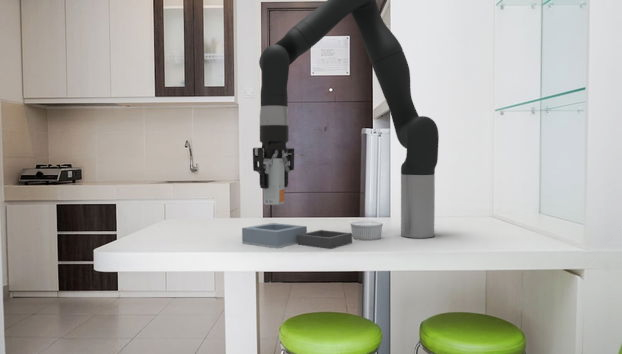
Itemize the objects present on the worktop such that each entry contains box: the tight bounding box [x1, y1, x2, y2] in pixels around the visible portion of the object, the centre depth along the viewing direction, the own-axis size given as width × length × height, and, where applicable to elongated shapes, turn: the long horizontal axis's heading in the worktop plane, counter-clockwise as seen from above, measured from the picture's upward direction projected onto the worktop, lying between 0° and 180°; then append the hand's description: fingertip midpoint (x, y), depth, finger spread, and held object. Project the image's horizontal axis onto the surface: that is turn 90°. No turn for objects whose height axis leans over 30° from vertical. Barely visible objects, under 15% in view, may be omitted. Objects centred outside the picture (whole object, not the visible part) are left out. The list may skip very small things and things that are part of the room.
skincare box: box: [263, 158, 285, 206], centre depth 133 cm, size 6×4×12 cm
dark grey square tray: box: [297, 229, 353, 249], centre depth 131 cm, size 10×10×2 cm
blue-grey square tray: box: [241, 222, 308, 249], centre depth 134 cm, size 12×12×4 cm
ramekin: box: [349, 220, 384, 241], centre depth 140 cm, size 9×9×4 cm
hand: (274, 187), depth 133 cm, fingers closed on skincare box, 7 cm apart
